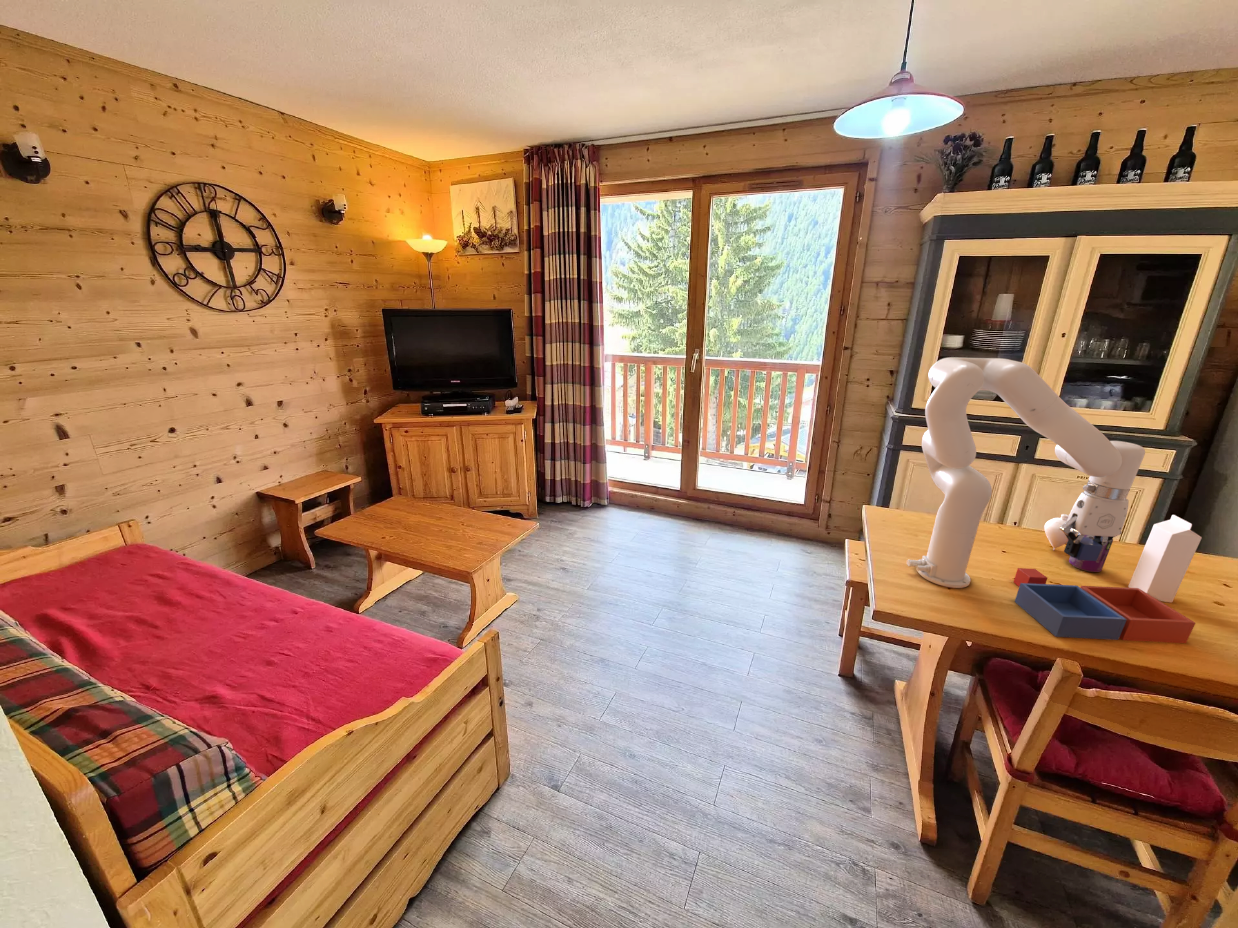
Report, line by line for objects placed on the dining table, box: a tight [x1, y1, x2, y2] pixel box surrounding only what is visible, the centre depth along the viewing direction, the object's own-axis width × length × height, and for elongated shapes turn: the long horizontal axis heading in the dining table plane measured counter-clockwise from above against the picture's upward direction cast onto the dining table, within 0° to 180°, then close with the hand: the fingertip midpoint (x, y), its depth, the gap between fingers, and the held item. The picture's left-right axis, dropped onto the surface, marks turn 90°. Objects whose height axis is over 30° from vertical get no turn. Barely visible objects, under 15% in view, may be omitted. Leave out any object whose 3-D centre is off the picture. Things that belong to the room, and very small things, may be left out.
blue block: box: [1076, 537, 1102, 561], centre depth 125 cm, size 4×4×4 cm
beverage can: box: [1068, 535, 1114, 573], centre depth 138 cm, size 7×7×12 cm
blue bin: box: [1014, 583, 1127, 641], centre depth 116 cm, size 14×14×6 cm
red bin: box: [1079, 585, 1196, 644], centre depth 115 cm, size 14×14×6 cm
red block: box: [1013, 567, 1048, 587], centre depth 130 cm, size 4×4×4 cm
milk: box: [1127, 514, 1202, 603], centre depth 124 cm, size 6×6×22 cm
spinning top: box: [1043, 513, 1078, 551], centre depth 148 cm, size 8×8×12 cm
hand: (1080, 554), depth 126 cm, fingers closed on blue block, 4 cm apart
